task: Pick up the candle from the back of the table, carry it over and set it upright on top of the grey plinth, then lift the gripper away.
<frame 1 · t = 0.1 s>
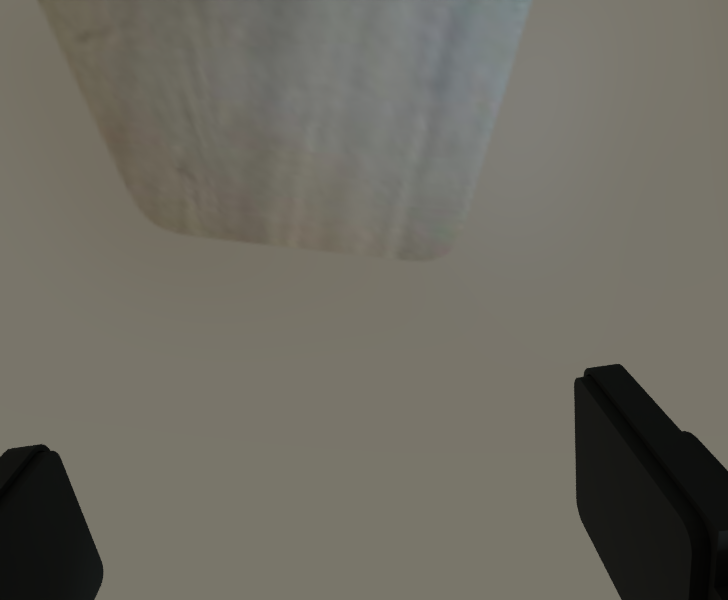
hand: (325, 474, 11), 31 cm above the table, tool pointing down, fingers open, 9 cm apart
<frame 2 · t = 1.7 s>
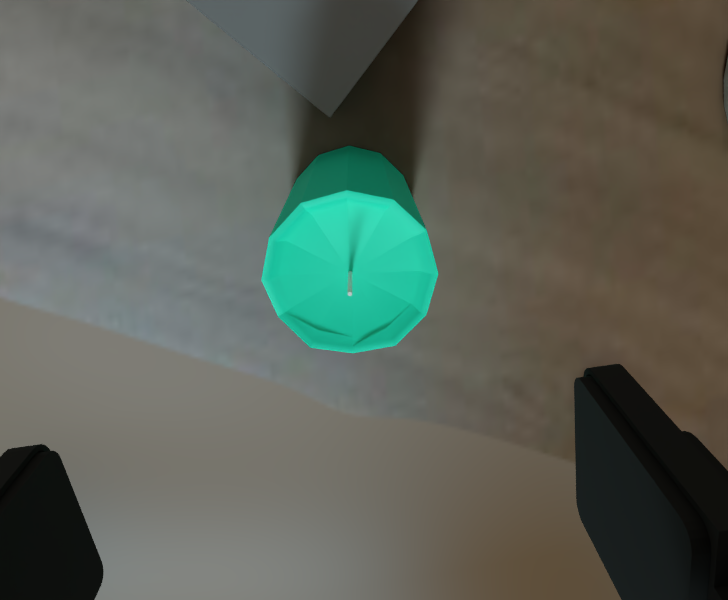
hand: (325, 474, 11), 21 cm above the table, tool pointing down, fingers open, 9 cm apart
candle: (351, 206, 30), on the table
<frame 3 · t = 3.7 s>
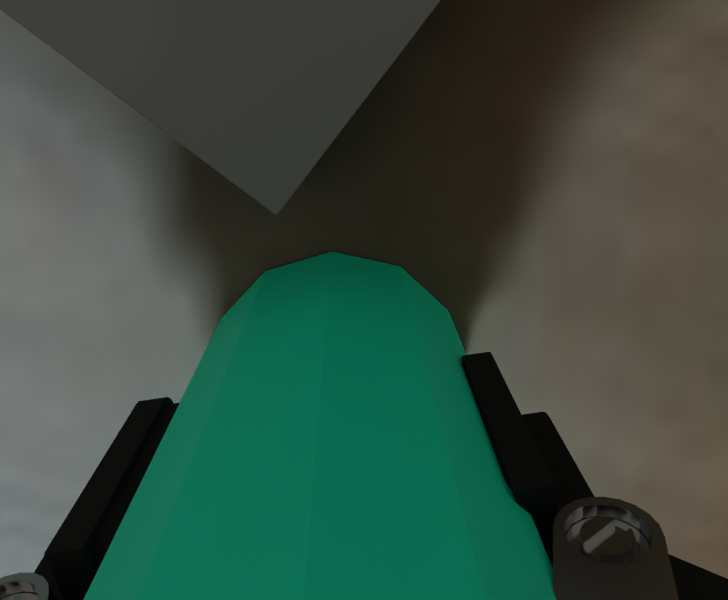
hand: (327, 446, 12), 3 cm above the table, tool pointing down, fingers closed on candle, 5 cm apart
candle: (338, 368, 15), on the table, touching gripper
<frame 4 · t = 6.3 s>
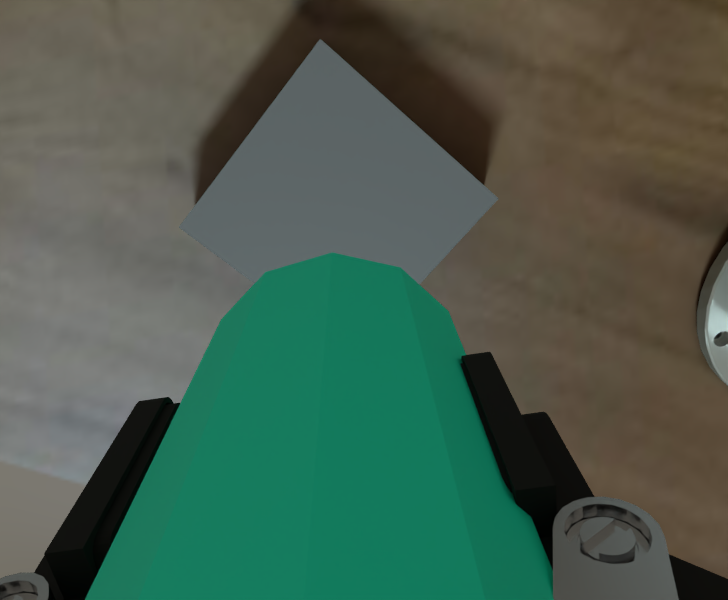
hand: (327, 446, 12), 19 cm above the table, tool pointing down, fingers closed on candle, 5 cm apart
plinth: (339, 198, 29), on the table
candle: (338, 369, 15), point 16 cm above the table, touching gripper
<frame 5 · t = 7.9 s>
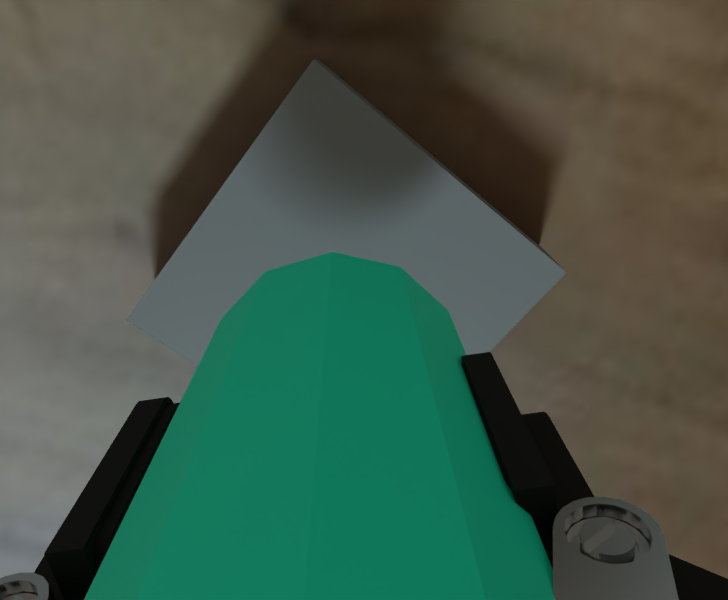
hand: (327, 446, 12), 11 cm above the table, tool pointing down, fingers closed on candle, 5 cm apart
plinth: (345, 266, 22), on the table
candle: (338, 368, 15), point 8 cm above the table, touching gripper
when the fingers open (7 cm above the table, at t = 9.1 s): candle stays where it is, resting on plinth.
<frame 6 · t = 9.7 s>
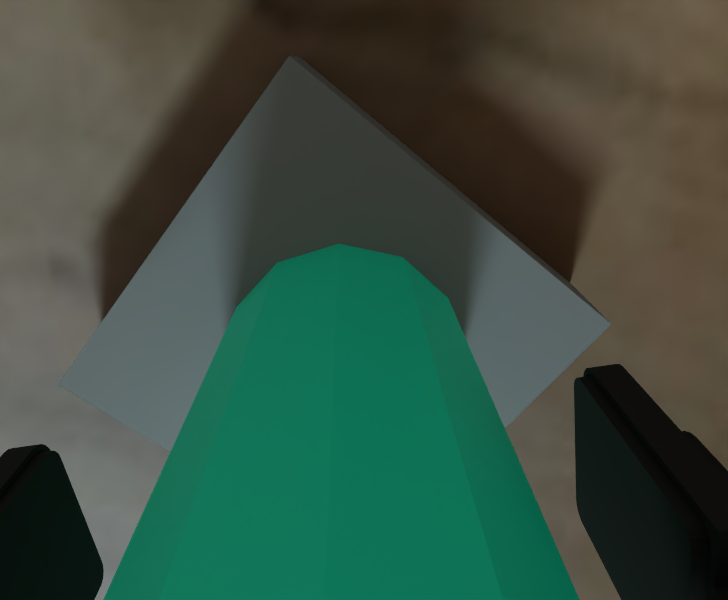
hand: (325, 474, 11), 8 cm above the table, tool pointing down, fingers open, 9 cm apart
plinth: (334, 309, 18), on the table
candle: (345, 354, 16), point 3 cm above the table, touching plinth
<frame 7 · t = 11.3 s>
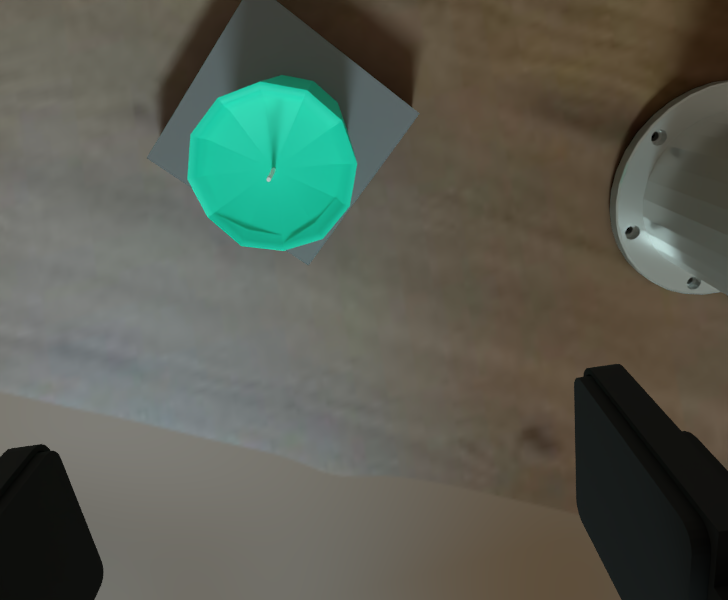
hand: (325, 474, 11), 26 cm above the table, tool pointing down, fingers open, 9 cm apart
plinth: (286, 129, 34), on the table
candle: (289, 136, 31), point 3 cm above the table, touching plinth
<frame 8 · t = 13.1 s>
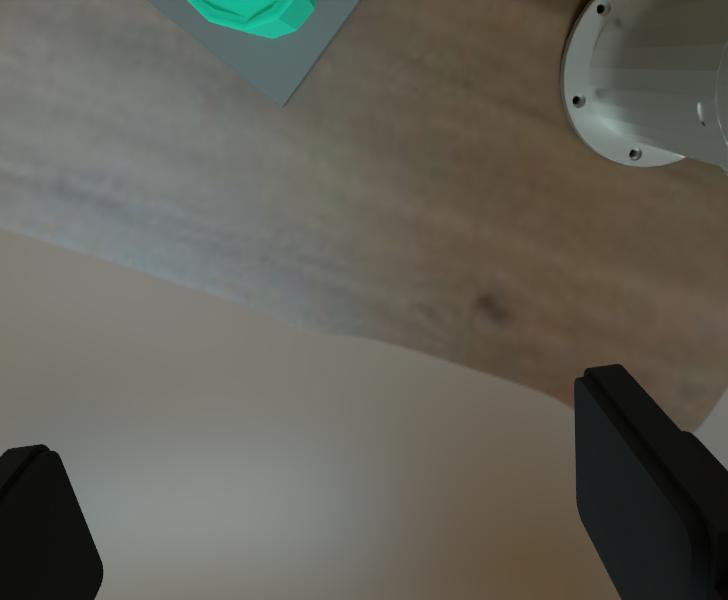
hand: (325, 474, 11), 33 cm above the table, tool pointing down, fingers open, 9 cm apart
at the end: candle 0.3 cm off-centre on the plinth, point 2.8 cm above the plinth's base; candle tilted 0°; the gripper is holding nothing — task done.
